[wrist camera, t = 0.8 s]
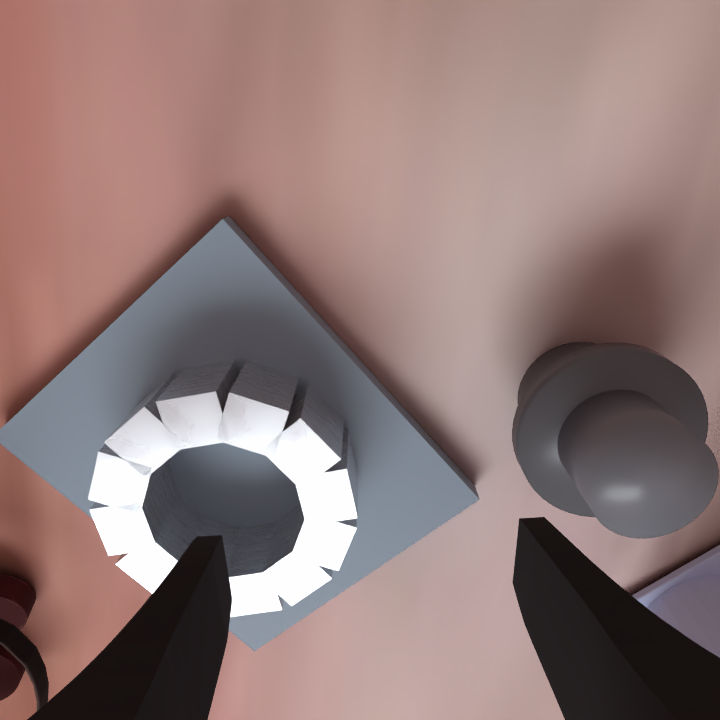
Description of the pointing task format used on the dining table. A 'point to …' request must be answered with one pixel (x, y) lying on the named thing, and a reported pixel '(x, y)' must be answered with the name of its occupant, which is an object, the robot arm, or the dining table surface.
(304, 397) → the segmented white ring
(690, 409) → the grey rounded knob
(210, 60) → the dining table surface
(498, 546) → the dining table surface
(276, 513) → the mount plate
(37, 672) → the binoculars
